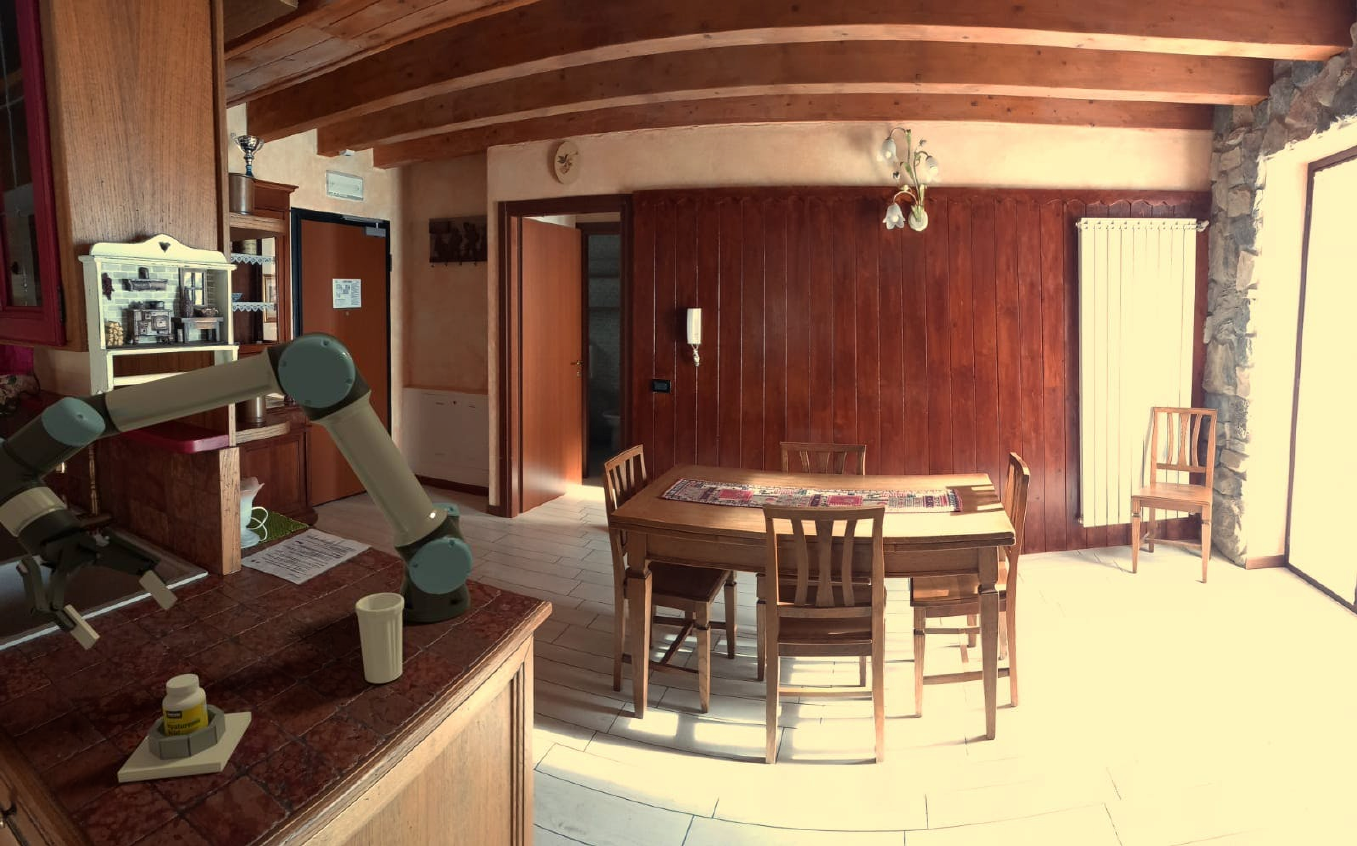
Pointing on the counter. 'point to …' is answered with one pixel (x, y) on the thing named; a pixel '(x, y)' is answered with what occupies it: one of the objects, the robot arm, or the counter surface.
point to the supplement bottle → (184, 706)
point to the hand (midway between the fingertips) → (134, 623)
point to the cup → (381, 635)
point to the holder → (186, 748)
